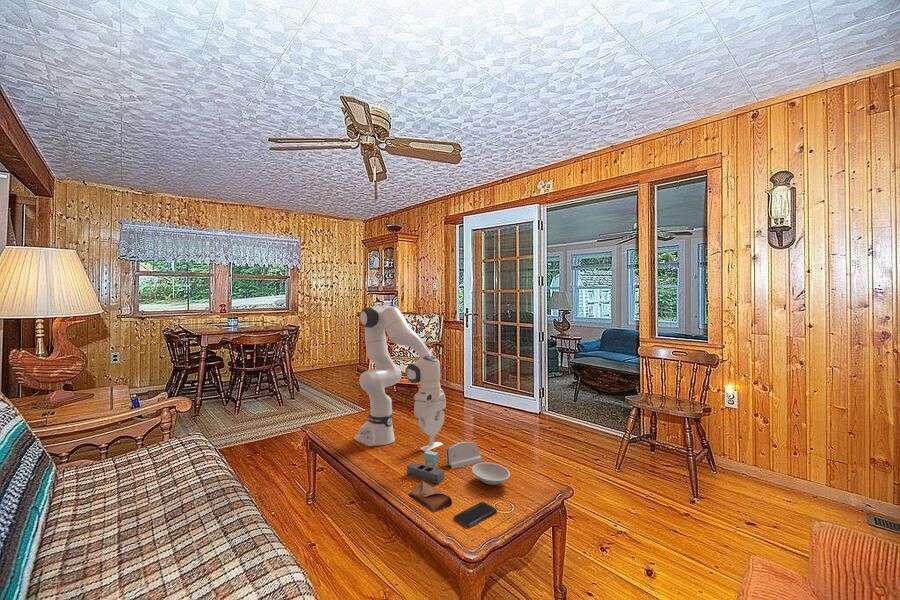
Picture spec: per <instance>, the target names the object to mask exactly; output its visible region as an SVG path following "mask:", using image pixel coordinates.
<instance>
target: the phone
mask: <svg viewBox="0 0 900 600" xmlns="http://www.w3.org/2000/svg"><path fill="white" fill-rule="evenodd" d="M497 512H498V509H497V508H496V507H494V506H492V505H490V504H489V503H486V502H484V501H481V502H479V503H477V504H475V505H473V506H471V507H469V508H466V509H465V510H462V511H461V512H459V513H457V514H454V515H453V520H454V521H456V522H457V523H458V524H460V525H461V526H463V527H465V528H467V529H470V528H472V527H474V526H475V525H478V524H480V523H481V522H483V521H485V520H487V519H488V518H490V517H492V516H494V515H496V514H497Z"/></svg>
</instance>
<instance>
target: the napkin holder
mask: <svg viewBox="0 0 900 600" xmlns="http://www.w3.org/2000/svg"><path fill="white" fill-rule="evenodd" d="M445 449H446V450H445V453H446V454H445V455H446V456H445V457H446V459H445V460H446V466H450V467H451V470H453V469H458V468H462V467H465V466H470V465H473V464H474V465H475V464H478V463H483V459H482V458H483V457H482V456H481V454H480V450H479V447H478V444H477V442H472V441H461V442H456V443H455V444H452V445H450V446H449V447H447V448H445Z"/></svg>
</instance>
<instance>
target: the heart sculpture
mask: <svg viewBox="0 0 900 600" xmlns="http://www.w3.org/2000/svg"><path fill="white" fill-rule="evenodd" d="M435 416H436V413H434V414H432V415H429V416H427V417H426V419H425V420H426V422H428V425H427V426H426V427H423V426H422V421H421V419H418V418H417V420H418V422H417V423H418V427H419V429H420V431H422V433H424V434H427V435H428V437H429V444H428V445H425V446H422V447H420V450H421V451H424V452H426V451H431V450H433V449H435V448H438V447H440V446H442V445H444V443H443V442H440V441H435V437H436V436H437V435H438V433H439V432H440V431H441V429H442V427H443V426H444V425H443V424H444V422H445V416H446V414H445V411H444V410H441V414H440V420H438V421H435Z"/></svg>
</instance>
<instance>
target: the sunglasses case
mask: <svg viewBox="0 0 900 600" xmlns="http://www.w3.org/2000/svg"><path fill="white" fill-rule="evenodd" d="M420 480H421V481H420V482H419V483H418V484H417V485H416V486H415V487H413V489H412V490H411V491H410V492H409V493H407V495H408V496H410V497H412V498H413V499H415V500H417V501H418V502H419V503H421V504H423V505H424V506H425V507H427V508H428V509H430V510H431V511H432V512H433V513H436V512H439V511H440V510H443V509H445V508H447V507H449V506H452V504H453V501H452V500H453V499H452V498H451V496H449V495H448V494H445V493H444V492H442V491H440V489H437V488H435V487H433V486H432V485H430V484H429V483H427V482H425V481H424V480H423V479H420Z"/></svg>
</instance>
